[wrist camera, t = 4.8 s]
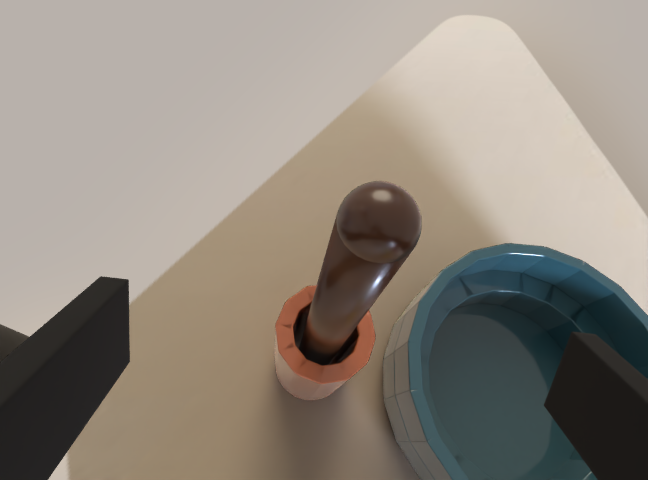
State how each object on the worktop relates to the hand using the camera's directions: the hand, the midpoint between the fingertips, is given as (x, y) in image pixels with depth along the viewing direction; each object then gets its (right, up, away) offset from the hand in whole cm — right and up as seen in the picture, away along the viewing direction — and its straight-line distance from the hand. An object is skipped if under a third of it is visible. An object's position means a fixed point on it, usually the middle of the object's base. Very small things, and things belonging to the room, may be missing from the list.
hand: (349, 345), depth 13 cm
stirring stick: (-2, -5, +14) cm, 15 cm away
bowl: (+11, -7, +16) cm, 20 cm away
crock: (-2, -5, +15) cm, 16 cm away
